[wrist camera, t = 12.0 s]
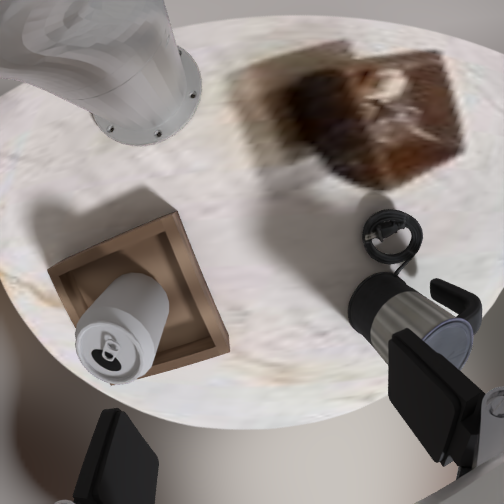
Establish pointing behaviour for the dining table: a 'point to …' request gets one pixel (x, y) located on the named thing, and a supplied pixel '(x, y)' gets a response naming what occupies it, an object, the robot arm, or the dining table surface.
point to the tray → (161, 270)
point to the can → (123, 329)
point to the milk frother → (411, 299)
